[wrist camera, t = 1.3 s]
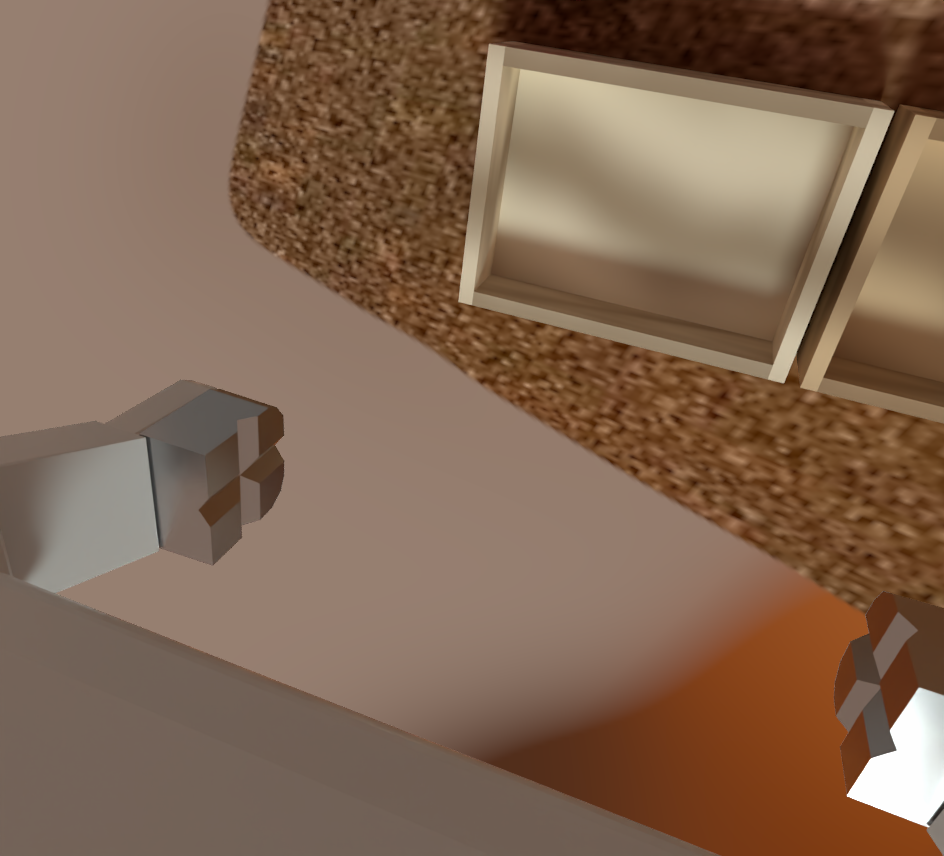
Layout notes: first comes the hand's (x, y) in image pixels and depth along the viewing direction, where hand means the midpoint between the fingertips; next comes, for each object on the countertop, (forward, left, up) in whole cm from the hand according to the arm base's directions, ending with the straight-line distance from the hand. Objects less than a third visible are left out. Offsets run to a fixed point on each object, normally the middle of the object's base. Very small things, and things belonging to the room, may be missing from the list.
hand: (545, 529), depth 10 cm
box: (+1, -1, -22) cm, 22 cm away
